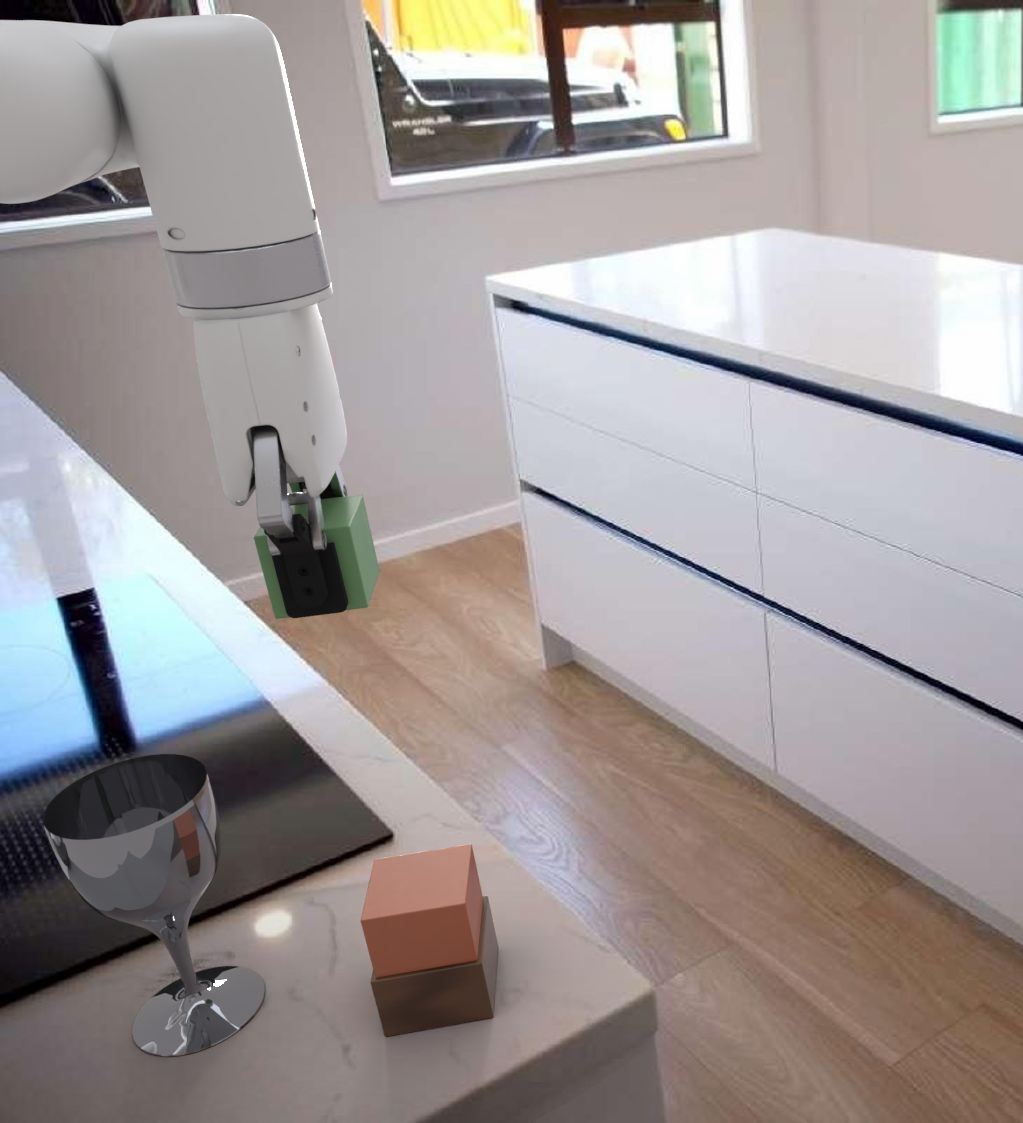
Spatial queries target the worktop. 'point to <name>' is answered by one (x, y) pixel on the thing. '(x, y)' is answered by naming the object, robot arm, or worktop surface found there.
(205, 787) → the wine glass
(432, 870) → the terracotta block
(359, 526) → the green block
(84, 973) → the worktop surface
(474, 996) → the walnut block
